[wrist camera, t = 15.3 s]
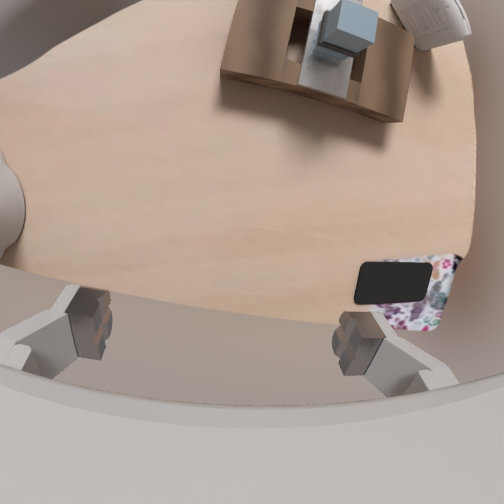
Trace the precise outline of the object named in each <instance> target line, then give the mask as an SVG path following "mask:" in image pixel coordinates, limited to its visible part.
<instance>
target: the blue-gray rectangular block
mask: <svg viewBox="0 0 504 504" xmlns="http://www.w3.org/2000/svg"><path fill="white" fill-rule="evenodd" d="M377 20H378V12H376V11H373V10H371V9H369V8H366V7H364V6H361V5H359V4H356V3H354V2H351V1H349V0H340V1H339V2H338V3H337V4H336V5H335V6H334V7H333V9H332V10H331V11H329V10H326V11H325V12H324V13H323V16H322V20H321V21H320V22H319V25H318V30H317V35H316V40H315V45H314V50H317V51H320V52H323V53H326V54H329V55H332V56H335V57H338V58H341V59H344V60H345V59H347V58H349V57H352V58H356V57H358V56H359V51H361V50H363V49H364V48H366V47H368V46H370V45H372V44H374V41H375V35H376V28H377Z"/></svg>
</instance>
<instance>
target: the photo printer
mask: <svg viewBox="0 0 504 504" xmlns="http://www.w3.org/2000/svg"><path fill="white" fill-rule="evenodd" d="M391 4H392V6H393V8H394V10H395V12H396V13H397V15H398V17H399V19H400V20H401V22H402V24H403V26H404V27H405V29H406V31H408V32H410V33H412V34H413V35H415V40H414V45H415V46H416V48H417V49H419V50H423V51H425V50H429V49H432V48H436V47H439V46H443V45H446V44H450V43H454V42H457V41H461V40H463V39H465V38H466V37H467V36H468V35H470V34H471V28H470V24H469V21H468V18H467V16H466V13H465V11H464V9H463V7H462V5H461V3H460V2H459V0H391Z"/></svg>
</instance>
